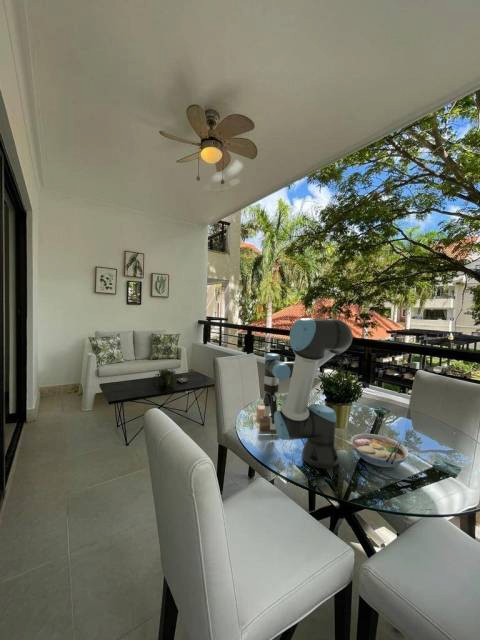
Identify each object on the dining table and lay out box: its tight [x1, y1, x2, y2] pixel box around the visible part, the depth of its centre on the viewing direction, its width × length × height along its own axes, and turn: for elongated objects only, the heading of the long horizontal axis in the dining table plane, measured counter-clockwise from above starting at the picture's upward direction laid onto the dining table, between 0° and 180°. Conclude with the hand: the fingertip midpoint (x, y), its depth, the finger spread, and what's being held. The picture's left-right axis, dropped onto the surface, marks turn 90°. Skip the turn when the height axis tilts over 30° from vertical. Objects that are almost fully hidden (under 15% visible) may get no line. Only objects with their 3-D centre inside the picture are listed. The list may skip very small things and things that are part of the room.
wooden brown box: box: [250, 412, 277, 433], centre depth 163 cm, size 24×12×8 cm, turn 8°
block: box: [256, 405, 265, 420], centre depth 168 cm, size 6×6×6 cm
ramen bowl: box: [350, 433, 410, 468], centre depth 126 cm, size 25×23×8 cm
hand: (269, 423), depth 152 cm, fingers open, 13 cm apart
